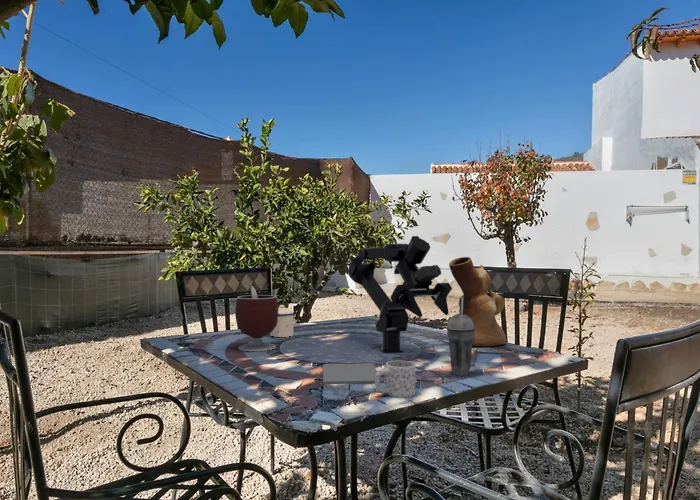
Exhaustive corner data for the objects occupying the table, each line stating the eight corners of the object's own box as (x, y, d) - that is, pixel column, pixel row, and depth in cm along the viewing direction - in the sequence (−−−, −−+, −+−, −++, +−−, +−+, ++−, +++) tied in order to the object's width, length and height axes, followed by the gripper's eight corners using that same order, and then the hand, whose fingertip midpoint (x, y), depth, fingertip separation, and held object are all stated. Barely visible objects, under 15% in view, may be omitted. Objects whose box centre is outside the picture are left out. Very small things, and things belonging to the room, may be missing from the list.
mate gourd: (283, 350, 157) (282, 288, 157) (239, 354, 151) (239, 290, 151) (271, 342, 171) (271, 285, 171) (231, 345, 166) (231, 286, 166)
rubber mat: (323, 366, 135) (323, 364, 135) (373, 365, 136) (373, 363, 136) (323, 384, 117) (323, 381, 117) (380, 383, 118) (380, 380, 118)
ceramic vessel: (516, 345, 165) (515, 256, 165) (467, 352, 154) (467, 257, 154) (482, 338, 178) (482, 256, 178) (435, 343, 168) (435, 256, 168)
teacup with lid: (275, 333, 189) (275, 303, 189) (297, 334, 187) (297, 304, 187) (262, 338, 178) (262, 307, 178) (285, 340, 175) (285, 307, 175)
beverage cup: (441, 373, 127) (441, 297, 127) (454, 368, 133) (454, 295, 133) (467, 378, 122) (466, 298, 122) (479, 372, 128) (479, 296, 128)
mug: (404, 387, 115) (404, 359, 115) (421, 394, 109) (421, 365, 109) (367, 393, 110) (367, 364, 110) (383, 401, 104) (383, 370, 104)
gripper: (395, 256, 137) (419, 298, 128) (447, 255, 146) (473, 294, 136) (381, 283, 144) (402, 324, 134) (431, 281, 153) (455, 319, 143)
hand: (434, 315), depth 137 cm, fingers open, 9 cm apart
